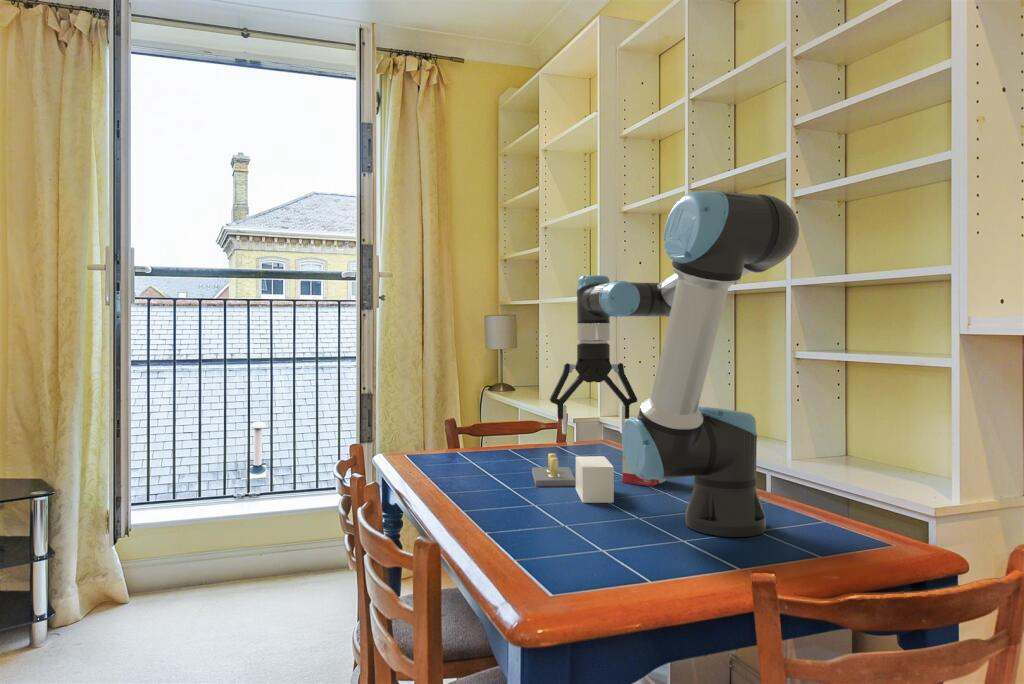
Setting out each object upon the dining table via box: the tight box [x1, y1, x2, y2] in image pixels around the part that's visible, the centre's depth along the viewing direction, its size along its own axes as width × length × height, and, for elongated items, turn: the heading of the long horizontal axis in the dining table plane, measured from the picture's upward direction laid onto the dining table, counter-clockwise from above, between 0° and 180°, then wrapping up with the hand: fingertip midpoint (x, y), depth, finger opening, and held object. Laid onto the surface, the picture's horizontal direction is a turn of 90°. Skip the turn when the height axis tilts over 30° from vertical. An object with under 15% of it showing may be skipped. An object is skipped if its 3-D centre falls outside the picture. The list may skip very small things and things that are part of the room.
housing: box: [575, 455, 615, 504], centre depth 159 cm, size 13×7×8 cm, turn 2°
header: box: [531, 453, 576, 488], centre depth 177 cm, size 16×10×6 cm, turn 2°
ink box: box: [621, 450, 667, 487], centre depth 173 cm, size 9×9×12 cm
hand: (593, 433), depth 159 cm, fingers open, 13 cm apart
